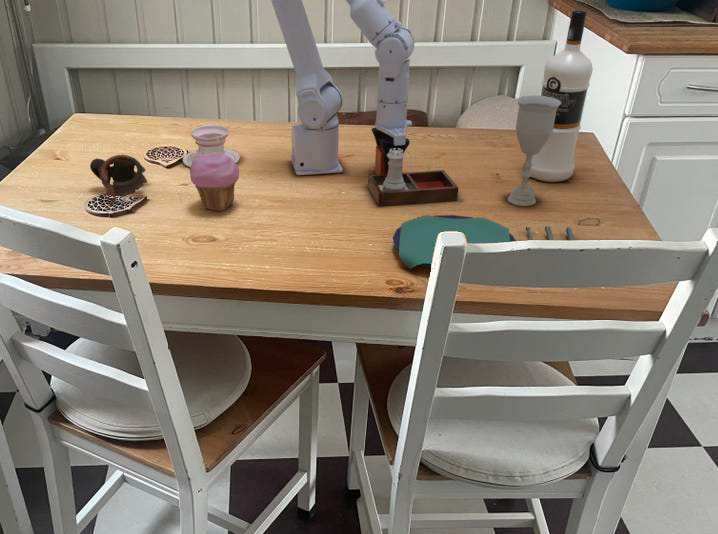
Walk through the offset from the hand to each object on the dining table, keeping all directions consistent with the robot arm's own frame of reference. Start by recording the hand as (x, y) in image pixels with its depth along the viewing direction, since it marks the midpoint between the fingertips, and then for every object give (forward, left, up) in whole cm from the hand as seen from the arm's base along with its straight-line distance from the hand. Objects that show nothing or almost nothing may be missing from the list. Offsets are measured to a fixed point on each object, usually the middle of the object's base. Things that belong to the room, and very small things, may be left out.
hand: (388, 169), depth 144 cm
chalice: (+21, -16, -2) cm, 27 cm away
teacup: (-35, +15, -2) cm, 38 cm away
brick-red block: (0, 0, -1) cm, 1 cm away
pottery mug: (-53, +1, -2) cm, 53 cm away
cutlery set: (+7, -35, -2) cm, 36 cm away
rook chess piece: (-1, -9, -1) cm, 10 cm away
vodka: (+31, -5, -2) cm, 32 cm away
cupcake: (-35, -9, -2) cm, 36 cm away
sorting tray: (+2, -9, -1) cm, 10 cm away
